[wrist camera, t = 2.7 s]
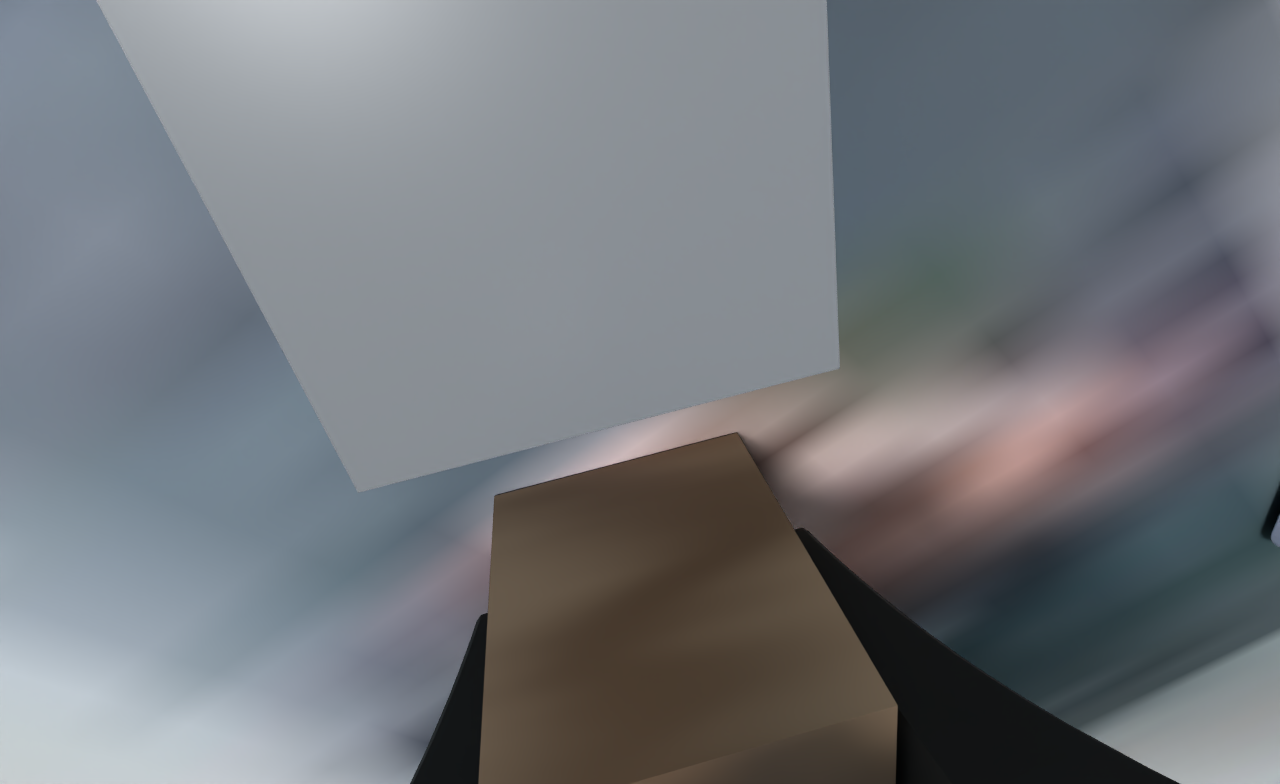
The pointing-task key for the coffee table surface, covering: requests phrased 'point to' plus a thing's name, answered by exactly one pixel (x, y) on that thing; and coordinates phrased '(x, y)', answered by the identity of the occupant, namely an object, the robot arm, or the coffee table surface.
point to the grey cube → (509, 205)
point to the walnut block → (671, 636)
